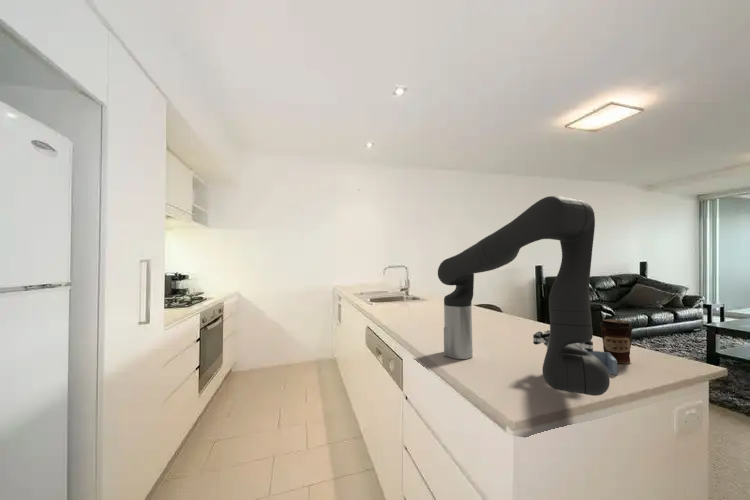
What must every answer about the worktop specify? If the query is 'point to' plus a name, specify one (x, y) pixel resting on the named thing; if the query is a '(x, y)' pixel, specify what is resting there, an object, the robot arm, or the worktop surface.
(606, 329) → the coffee cup
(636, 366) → the worktop surface
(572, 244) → the robot arm
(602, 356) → the grey-blue square open box
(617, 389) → the worktop surface
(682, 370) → the worktop surface
